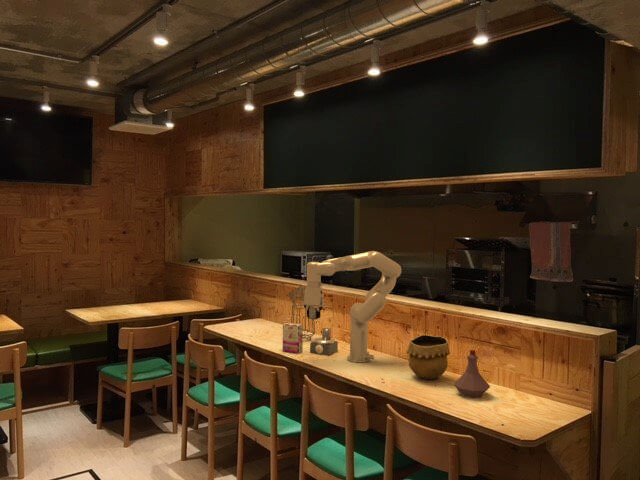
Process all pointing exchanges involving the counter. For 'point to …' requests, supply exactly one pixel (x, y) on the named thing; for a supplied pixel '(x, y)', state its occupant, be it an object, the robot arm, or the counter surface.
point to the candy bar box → (293, 338)
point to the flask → (472, 379)
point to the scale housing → (323, 348)
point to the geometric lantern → (300, 308)
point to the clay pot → (428, 356)
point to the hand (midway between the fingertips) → (313, 317)
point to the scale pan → (323, 341)
